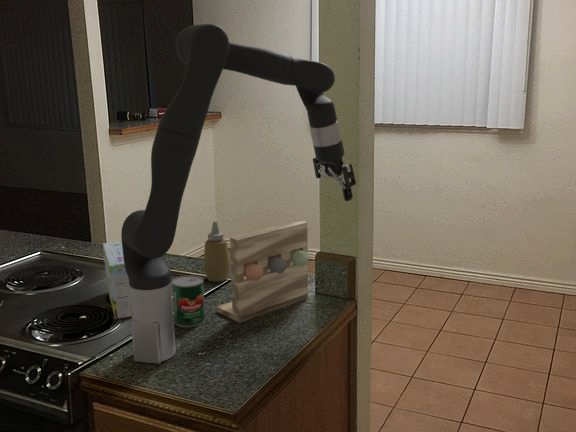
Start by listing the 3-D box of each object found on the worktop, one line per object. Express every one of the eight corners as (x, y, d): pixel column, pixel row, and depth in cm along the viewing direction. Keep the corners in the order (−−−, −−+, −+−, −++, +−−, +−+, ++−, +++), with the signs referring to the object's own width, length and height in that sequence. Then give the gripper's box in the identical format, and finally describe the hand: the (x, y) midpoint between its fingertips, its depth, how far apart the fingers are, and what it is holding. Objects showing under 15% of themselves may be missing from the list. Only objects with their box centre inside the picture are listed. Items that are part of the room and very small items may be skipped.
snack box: (106, 292, 182) (101, 242, 179) (125, 289, 184) (122, 240, 181) (113, 320, 163) (108, 265, 159) (135, 317, 165) (131, 262, 161)
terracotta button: (263, 278, 160) (263, 263, 159) (251, 282, 157) (250, 267, 156) (253, 275, 163) (253, 260, 162) (241, 278, 160) (240, 263, 159)
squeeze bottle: (202, 284, 188) (200, 225, 184) (205, 274, 196) (202, 218, 192) (230, 283, 188) (227, 225, 184) (231, 274, 196) (229, 218, 192)
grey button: (286, 271, 165) (286, 257, 164) (275, 275, 163) (275, 260, 162) (276, 267, 168) (276, 253, 167) (265, 271, 165) (264, 256, 164)
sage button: (308, 264, 170) (308, 250, 169) (297, 268, 168) (297, 253, 167) (298, 261, 173) (298, 247, 172) (287, 264, 171) (287, 250, 170)
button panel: (307, 298, 176) (307, 222, 171) (240, 323, 161) (237, 240, 155) (283, 289, 183) (282, 215, 178) (216, 311, 168) (213, 232, 162)
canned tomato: (187, 330, 157) (185, 288, 154) (167, 321, 162) (165, 281, 159) (211, 320, 163) (209, 279, 160) (191, 312, 168) (189, 273, 165)
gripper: (299, 141, 166) (312, 196, 173) (332, 149, 155) (344, 208, 161) (321, 131, 169) (333, 185, 176) (355, 138, 158) (366, 196, 165)
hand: (338, 196), depth 169 cm, fingers open, 8 cm apart
